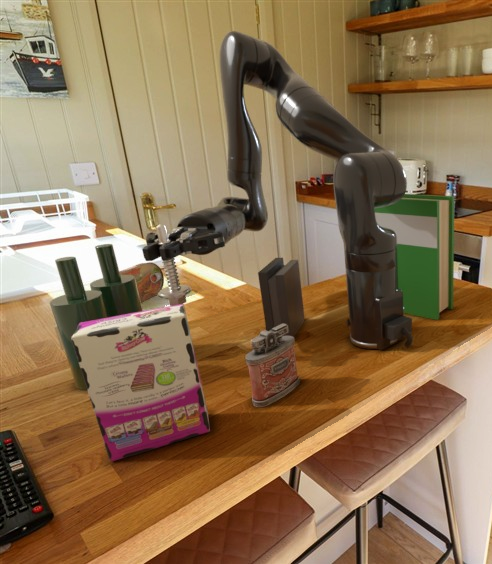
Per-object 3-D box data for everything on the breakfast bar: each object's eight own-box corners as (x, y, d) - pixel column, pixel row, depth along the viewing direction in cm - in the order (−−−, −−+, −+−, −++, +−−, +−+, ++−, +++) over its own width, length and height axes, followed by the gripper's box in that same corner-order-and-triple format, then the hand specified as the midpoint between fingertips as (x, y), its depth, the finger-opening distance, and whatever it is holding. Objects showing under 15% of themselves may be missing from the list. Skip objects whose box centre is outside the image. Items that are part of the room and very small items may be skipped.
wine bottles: (124, 346, 78) (97, 241, 72) (159, 346, 78) (135, 240, 72) (63, 390, 65) (22, 265, 58) (105, 390, 65) (69, 264, 58)
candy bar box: (208, 412, 58) (185, 301, 53) (211, 433, 54) (186, 315, 49) (112, 439, 54) (77, 320, 48) (108, 464, 49) (68, 336, 44)
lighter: (263, 409, 59) (253, 345, 55) (247, 402, 60) (236, 339, 57) (304, 382, 65) (297, 322, 62) (289, 376, 67) (281, 318, 63)
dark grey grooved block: (304, 319, 88) (297, 257, 84) (291, 341, 79) (283, 272, 74) (283, 320, 88) (275, 257, 84) (267, 341, 79) (257, 272, 74)
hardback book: (453, 308, 92) (454, 196, 84) (437, 320, 86) (437, 201, 78) (385, 294, 101) (381, 192, 93) (367, 304, 95) (361, 197, 87)
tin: (120, 312, 95) (111, 276, 92) (108, 311, 96) (99, 276, 93) (167, 290, 109) (161, 258, 106) (157, 289, 110) (150, 258, 107)
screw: (190, 295, 72) (197, 303, 68) (158, 302, 69) (163, 311, 65) (174, 219, 67) (180, 223, 64) (139, 223, 65) (144, 228, 61)
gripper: (168, 210, 78) (103, 230, 62) (241, 208, 78) (195, 228, 61) (176, 249, 81) (115, 279, 64) (247, 248, 80) (204, 277, 64)
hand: (155, 254), depth 63 cm, fingers closed on screw, 2 cm apart
